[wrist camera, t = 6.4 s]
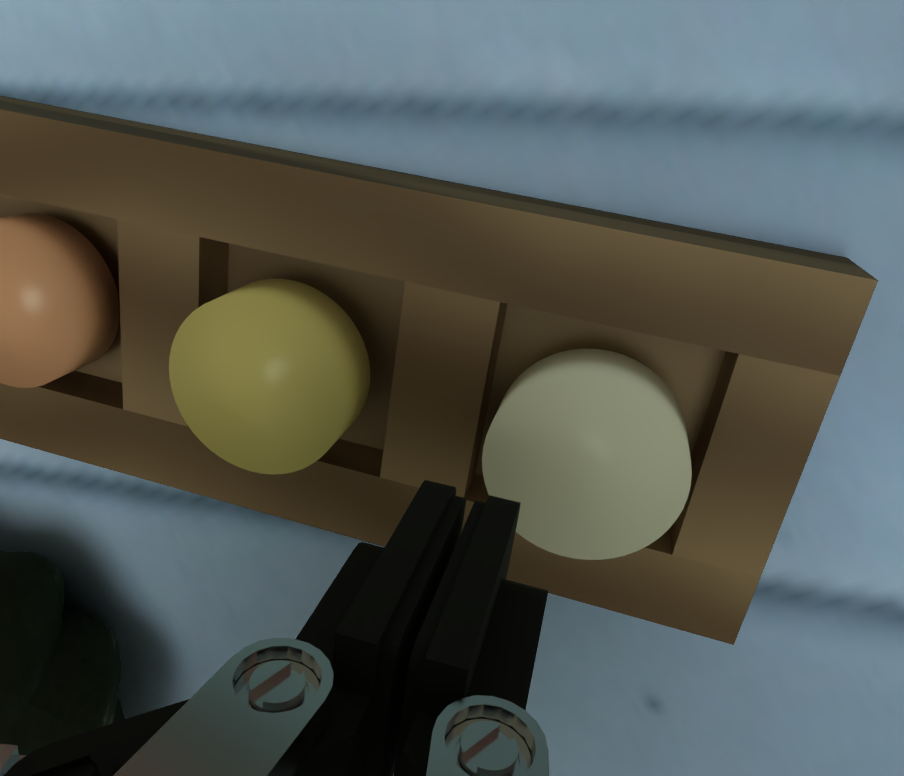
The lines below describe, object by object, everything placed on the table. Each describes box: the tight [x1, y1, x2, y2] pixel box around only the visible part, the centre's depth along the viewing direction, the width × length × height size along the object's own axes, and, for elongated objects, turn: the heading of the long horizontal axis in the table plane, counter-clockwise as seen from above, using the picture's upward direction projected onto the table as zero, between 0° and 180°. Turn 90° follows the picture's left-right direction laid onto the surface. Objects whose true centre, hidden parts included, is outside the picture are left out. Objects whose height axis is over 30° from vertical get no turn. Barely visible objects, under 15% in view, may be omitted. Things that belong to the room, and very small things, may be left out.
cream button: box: [482, 349, 692, 560], centre depth 17 cm, size 5×5×2 cm
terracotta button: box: [0, 213, 120, 388], centre depth 20 cm, size 5×5×2 cm
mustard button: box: [169, 279, 370, 474], centre depth 18 cm, size 5×5×2 cm
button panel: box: [0, 96, 878, 645], centre depth 20 cm, size 10×26×2 cm, turn 81°
